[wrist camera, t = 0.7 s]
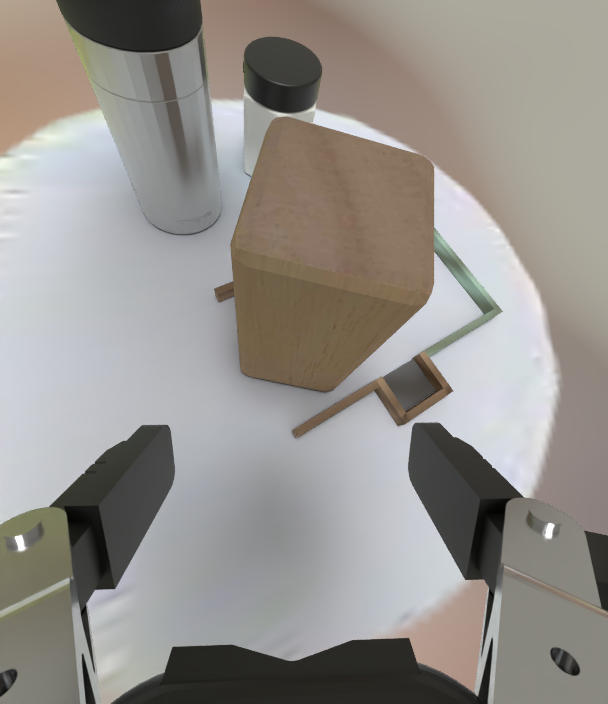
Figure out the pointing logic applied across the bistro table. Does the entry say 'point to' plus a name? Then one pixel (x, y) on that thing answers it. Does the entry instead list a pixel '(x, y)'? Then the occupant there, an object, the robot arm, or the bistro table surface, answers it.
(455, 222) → the bistro table surface
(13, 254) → the bistro table surface
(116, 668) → the bistro table surface
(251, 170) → the jar
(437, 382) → the notched outline frame
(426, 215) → the block
